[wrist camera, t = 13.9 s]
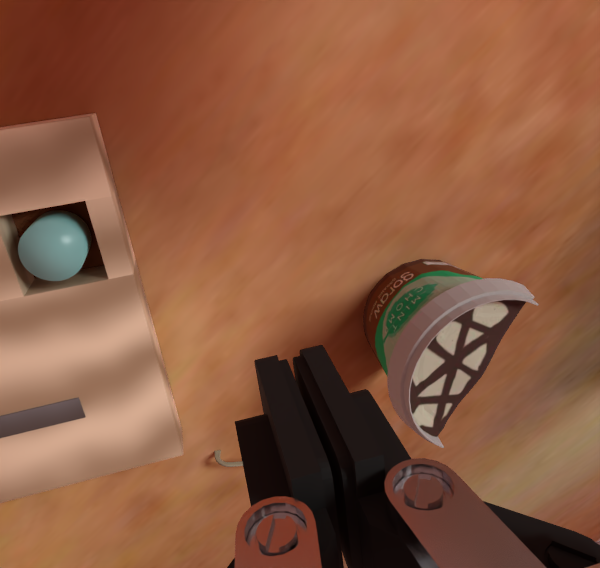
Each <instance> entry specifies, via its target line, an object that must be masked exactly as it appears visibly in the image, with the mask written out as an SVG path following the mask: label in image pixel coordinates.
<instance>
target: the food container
mask: <svg viewBox="0 0 600 568" xmlns="http://www.w3.org/2000/svg"><path fill="white" fill-rule="evenodd" d="M533 299H534V296H533V295H532V294H531V293H530V292H529V291H528V289H527V288H526V287H525V286H524V285H522V284H519V283H517V282H514V281H510V280H505V279H492V278H486V279H482V278H480V277H478V276H476V275H473V274H471V273H469V272H466V271H464V270H462V269H460V268H457V267H455V266H453V265H450V264H448V263H445V262H442V261H440V260H427V259H420V260H416V261H412V262H409V263H405V264H402V265H401V266H399V267H397V268H396V269H394V270H392V271H391V272H389V273H387V274H386V275H385V276H384V277H383V278H382V279H381V280H380V281H379V282H378V284H377V285H376V286H375V287H374V289H373V290H372V292H371V294H370V296H369V298H368V300H367V303H366V306H365V310H364V317H363V323H364V330H365V335H366V337H367V340H368V342H369V344H370V345H371V347H372V349H373V351H374V353H375V355H376V356H377V358H378V360H379V362H380V364H381V366H382V367H383V369H384V371H385V373H386V375H387V377H388V391H389V397H390V400H391V402H392V405H393V407H394V409H395V411H396V412H397V414H398V415H399V417H400V418H401V419H402V420H403V421H404V422H405V423H406V424H407V425H408V426H409V427H410V428H411V429H413V430H414V431H415V432H416V433H417V434H418V435H420V436H421V437H423V438H424V439H426V440H427V441H429V442H431V443H434V444H435V445H438V446H440V447H442V448H444V446H443V445H442V443H441V441H440V439H439V438H438V435H439V433H440V432H441V431H442V429H443V428H444V426H445V424H446V422H447V420H448V419H449V417H450V416H451V414H452V413H453V411H454V410H455V408H456V407H457V405H458V404H459V403H460V401H461V400H462V399H463V398H464V397H465V396H466V394H467V393H468V392H469V391H470V390H471V389H472V388H473V386H474V385H475V384H476V383H477V381H478V380H479V379H480V378H481V376H482V375H483V373H484V372H485V370H486V368H487V366H488V364H489V363H490V361H491V359H492V357H493V354H494V352H495V350H496V348H497V346H498V345H499V343H500V341H501V339H502V337H503V336H504V334H505V332H506V331H507V329H508V328H509V326H510V325H511V323H512V322H513V320H514V319H515V317H516V316H517V314H518V313H519V311H520V310H521V308H522V307H523V305H524V304H525V303H526V302H530V303H532V304H535V305H539V304H538V303H536V302H535V301H533Z"/></svg>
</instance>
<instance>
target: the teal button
mask: <svg viewBox="0 0 600 568" xmlns="http://www.w3.org/2000/svg"><path fill="white" fill-rule="evenodd" d="M91 240H92V239H91V233H90V230H89V228H88V226H87V224H86V223H85V222H84V221H83V220H82V219H81V218H80V217H79V216H77V215H76V214H74V213H71V212H69V211H65V210H52V211H48V212H45V213H43V214H42V215H40V216H39V217H38V218H37V219H36V220H35V221H34V222H33V223H32V224H31V225H30V227H29V228H28V229H27V230H26V231H25V232H24V234H23V235H22V237H21V238H20V241H19V245H18V254H19V258H20V260H21V262H22V264H23V266H24V267H25V268H26V269H27V270H28V271H29V272H30V273H31V274H33V275H34V276H36V277H38V278H40V279H43V280H48V281H61V280H65V279H68V278H70V277H72V276H74V275H75V274H76V273H77V272H78V271H79V270H80V269H81V267H82V266H83V264H84V261H85V259H86V256H87V254H88V252H89V249H90V246H91Z"/></svg>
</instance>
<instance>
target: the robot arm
mask: <svg viewBox="0 0 600 568" xmlns="http://www.w3.org/2000/svg"><path fill="white" fill-rule="evenodd" d="M293 365H294V372H295V378H294V376H293V373H292V371H291V368H290V366H289V363H288V361H287V359H285V360H280V361H279V360H278V357H277V355H276V356H271V357H267V358H262V359H258V360H255V368H256V373H257V379H258V384H259V390H260V395H261V401H262V406H263V412H264V415H260V416H256V417H252V418H247V419H243V420H239V421H235V425H236V431H237V436H238V441H239V446H240V451H241V456H242V461H243V467H244V472H245V477H246V482H247V487H248V492H249V498H250V503H251V507H250V508H249V509H248V510H247V511H246V512H245V513H244V514H243V516H242V517H241V519H240V521H239V523H238V526H237V530H236V539H235V558H234V559H233V561H232V562H231V563H230V565H229V566H228V567H227V568H344V566H343V558H342V553H343V555H344V558H345V561H346V564H347V566H348V568H600V541H599V542H595V541H593V540H592V539H590V538H588V537H586V536H584V535H582V534H579V533H577V532H574V531H571V530H568V529H565V528H562V527H559V526H556V525H553V524H550V523H547V522H544V521H541V520H538V519H535V518H532V517H529V516H526V515H523V514H520V513H517V512H514V511H511V510H508V509H505V508H502V507H499V506H496V505H493V504H490V503H487V502H484V501H482V500H481V499H480V498H479V497H478V496H477V495H476V494H475V493H474V492H473V491H472V489H471V488H470V487H469V486H468V485H467V484H466V483H465V482H464V481H463V480H462V479H461V478H460V477H459V476H458V475H457V474H456V473H455V472H454V471H453V470H452V469H450V468H449V467H448V466H446V465H444V464H442V463H440V462H438V461H435V460H430V459H425V458H422V459H411V458H410V456H409V455H408V453H407V451H406V450H405V448H404V446H403V445H402V443H401V442H400V440H399V438H398V437H397V435H396V434H395V432H394V430H393V429H392V427H391V426H390V424H389V422H388V421H387V419H386V418H385V416H384V414H383V413H382V411H381V410H380V408H379V406H378V405H377V403H376V401H375V400H374V398H373V397H372V395H371V394H370V392H369V391H368V390H366V389H365V390H361V391H357V392H353V393H349V391H348V390H347V388H346V386H345V384H344V382H343V381H342V379H341V377H340V375H339V374H338V372H337V370H336V368H335V366H334V365H333V363H332V361H331V359H330V357H329V356H328V354H327V352H326V350H325V348H324V347H323V345H319V346H315V347H311V348H306V349H302V350H300V356H298V357H294V358H293ZM295 379H296V381H295Z"/></svg>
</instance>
